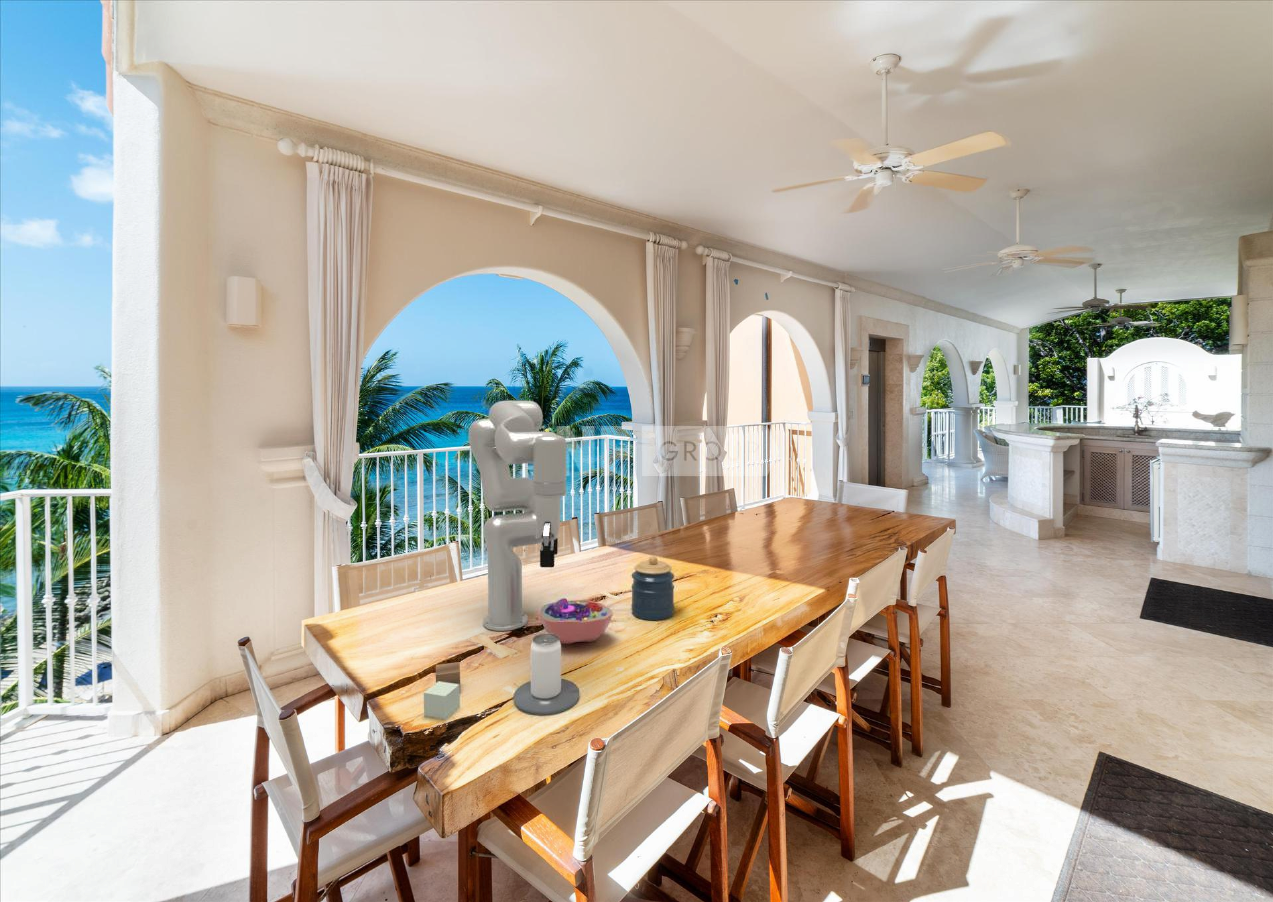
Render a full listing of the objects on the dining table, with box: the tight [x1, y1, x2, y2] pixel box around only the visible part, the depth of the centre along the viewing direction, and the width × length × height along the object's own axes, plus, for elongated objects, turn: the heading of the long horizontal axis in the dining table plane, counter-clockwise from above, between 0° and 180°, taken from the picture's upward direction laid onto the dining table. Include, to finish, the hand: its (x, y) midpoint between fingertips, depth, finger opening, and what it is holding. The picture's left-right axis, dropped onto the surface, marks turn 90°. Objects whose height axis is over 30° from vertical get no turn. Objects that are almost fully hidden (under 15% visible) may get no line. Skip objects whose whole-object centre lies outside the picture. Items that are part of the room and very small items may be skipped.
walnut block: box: [435, 661, 461, 688], centre depth 125 cm, size 5×5×5 cm
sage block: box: [423, 681, 461, 721], centre depth 116 cm, size 5×5×5 cm
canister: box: [630, 555, 675, 621], centre depth 171 cm, size 13×13×18 cm
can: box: [530, 632, 562, 699], centre depth 122 cm, size 6×6×12 cm
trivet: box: [513, 677, 580, 716], centre depth 122 cm, size 14×14×1 cm
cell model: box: [538, 597, 614, 644], centre depth 151 cm, size 17×20×11 cm
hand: (549, 560), depth 133 cm, fingers open, 9 cm apart
